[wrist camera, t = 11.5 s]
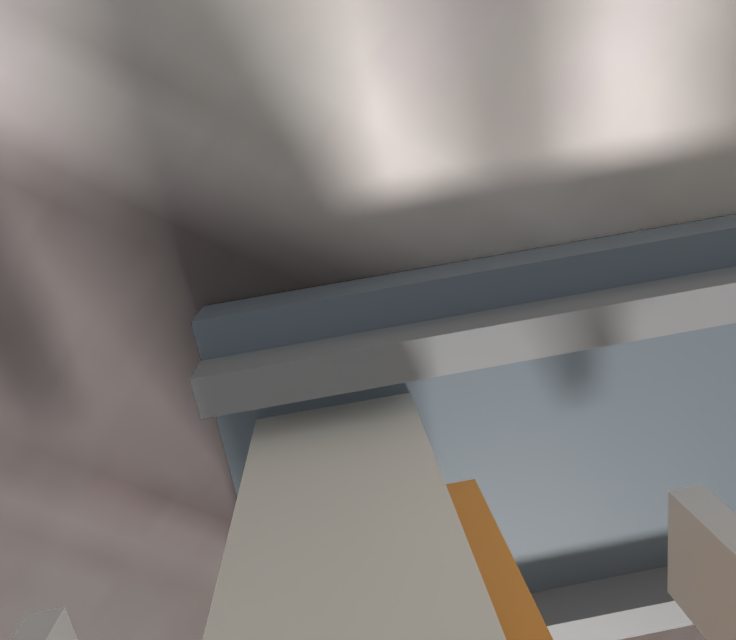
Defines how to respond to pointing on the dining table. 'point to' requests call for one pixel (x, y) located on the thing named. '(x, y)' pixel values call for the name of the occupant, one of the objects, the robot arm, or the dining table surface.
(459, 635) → the white block orange panel
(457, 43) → the dining table surface
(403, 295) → the rail
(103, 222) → the dining table surface
